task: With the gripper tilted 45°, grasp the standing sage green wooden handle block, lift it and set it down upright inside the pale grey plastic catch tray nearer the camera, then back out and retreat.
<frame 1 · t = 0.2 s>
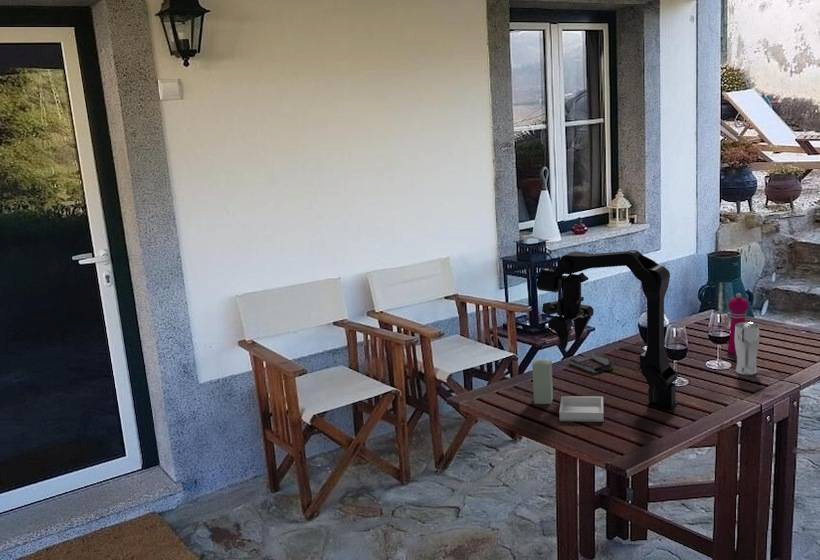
hand: (570, 344, 233), 14 cm above the table, tool pointing down, fingers open, 9 cm apart
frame: (591, 367, 255), on the table
handle block: (543, 400, 229), on the table
pepper mill: (737, 351, 257), on the table
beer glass: (746, 372, 239), on the table
catch tray: (581, 412, 218), on the table
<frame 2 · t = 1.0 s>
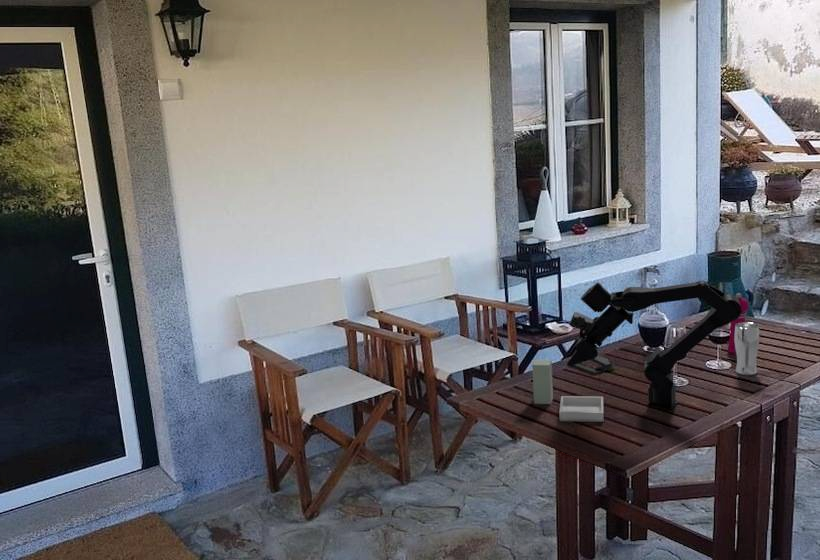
hand: (569, 359, 224), 13 cm above the table, tool tilted 45°, fingers open, 9 cm apart
nothing on the table moved.
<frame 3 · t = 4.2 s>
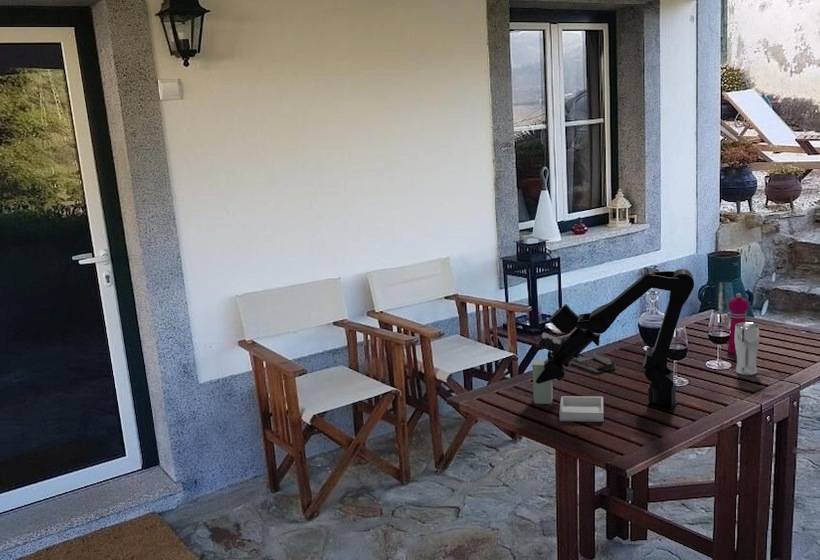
hand: (537, 379, 228), 7 cm above the table, tool tilted 45°, fingers closed on handle block, 5 cm apart
handle block: (543, 400, 229), on the table, touching gripper
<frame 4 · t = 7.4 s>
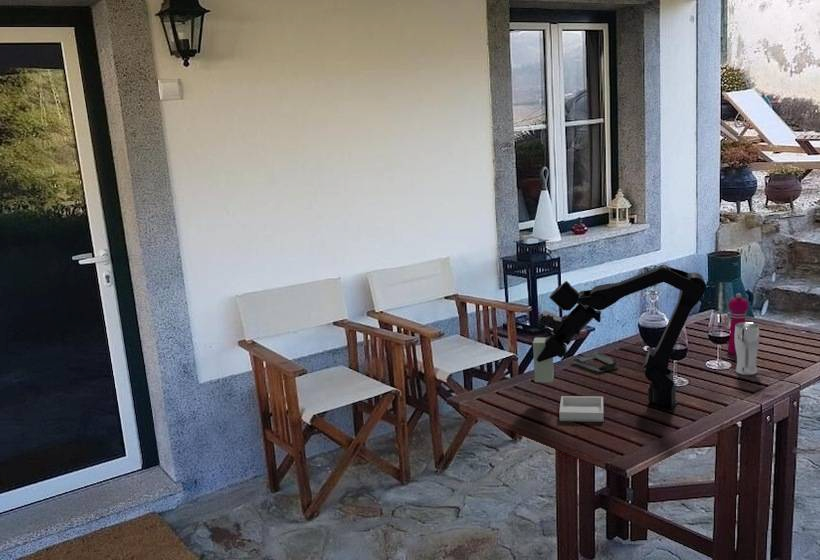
hand: (538, 357, 226), 13 cm above the table, tool tilted 45°, fingers closed on handle block, 5 cm apart
handle block: (544, 379, 227), point 7 cm above the table, touching gripper
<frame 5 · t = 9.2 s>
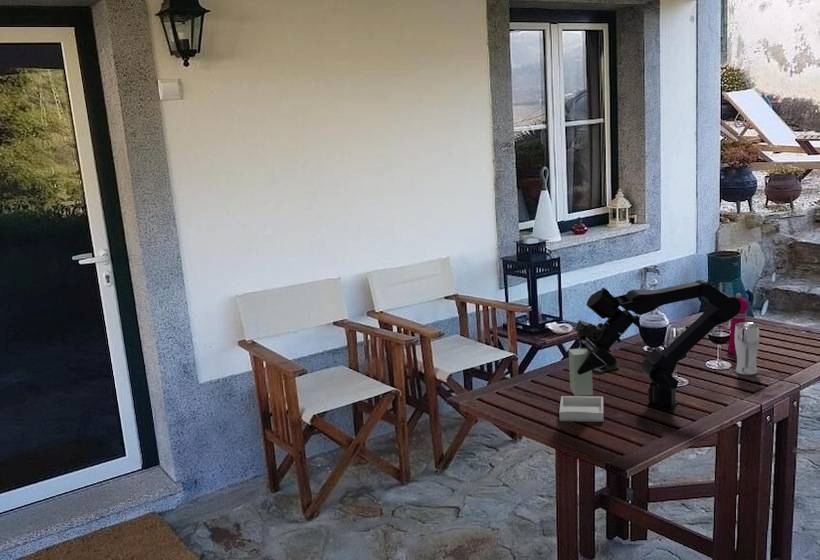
hand: (575, 370, 215), 13 cm above the table, tool tilted 45°, fingers closed on handle block, 5 cm apart
handle block: (581, 392, 217), point 6 cm above the table, touching gripper
when the fingers open (9 cm above the table, at t = 10.8 s): handle block drops 2 cm, resting on catch tray.
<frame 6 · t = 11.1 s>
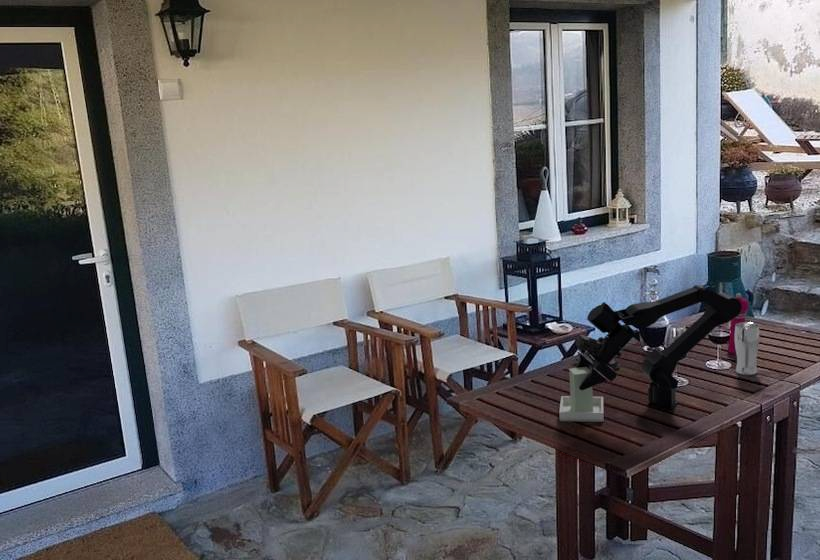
hand: (576, 384, 216), 9 cm above the table, tool tilted 45°, fingers open, 8 cm apart
handle block: (581, 410, 218), point 1 cm above the table, touching catch tray
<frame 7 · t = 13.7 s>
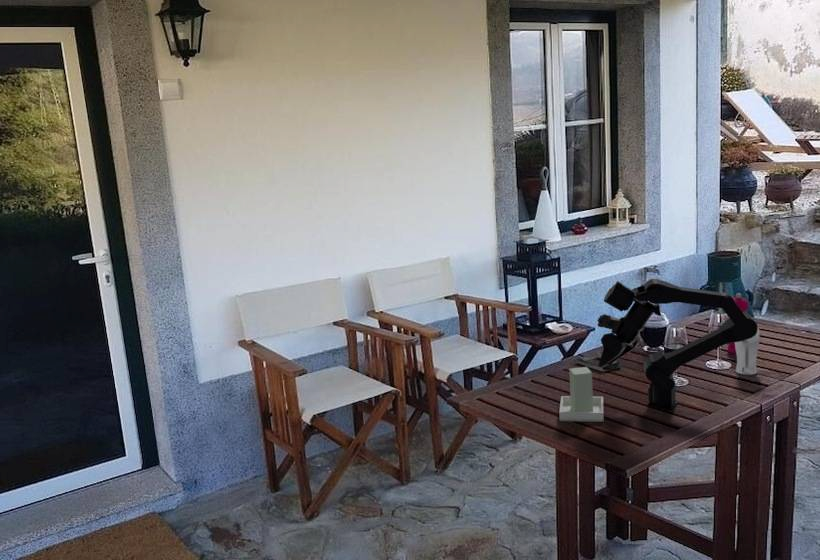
hand: (604, 364, 220), 12 cm above the table, tool tilted 35°, fingers open, 9 cm apart
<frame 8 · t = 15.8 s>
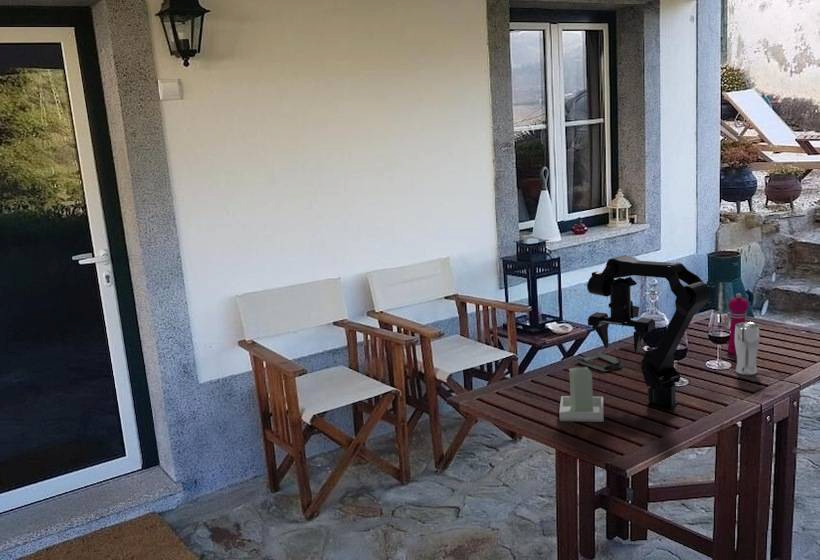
hand: (621, 350, 228), 13 cm above the table, tool pointing down, fingers open, 9 cm apart
at the end: handle block 0.0 cm from the catch tray (horizontally); handle block tilted 0°; handle block point 0.6 cm above the table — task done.
